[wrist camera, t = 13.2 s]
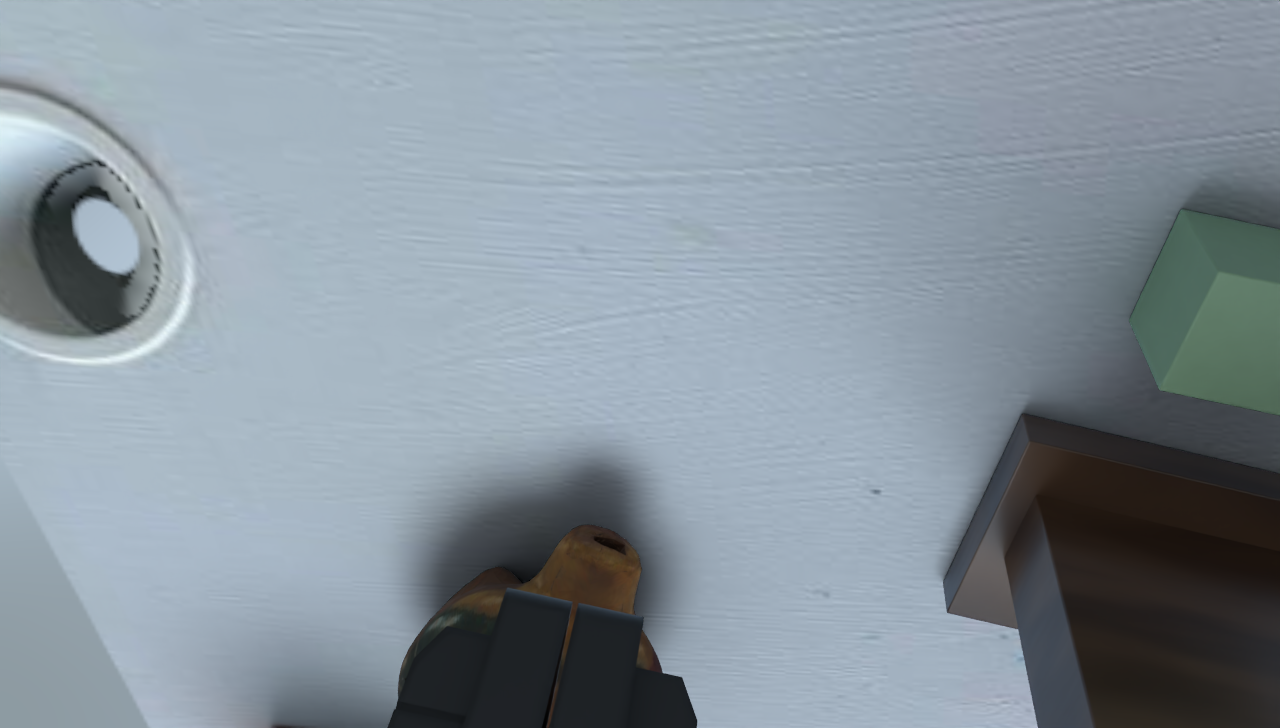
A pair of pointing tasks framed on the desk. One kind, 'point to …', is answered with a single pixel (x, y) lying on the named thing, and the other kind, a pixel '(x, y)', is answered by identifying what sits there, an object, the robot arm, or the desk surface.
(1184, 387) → the sage block
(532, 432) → the desk surface
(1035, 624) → the walnut upright
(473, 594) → the multicoloured ceramic rounded body
